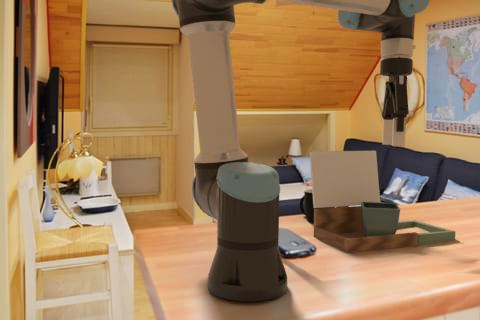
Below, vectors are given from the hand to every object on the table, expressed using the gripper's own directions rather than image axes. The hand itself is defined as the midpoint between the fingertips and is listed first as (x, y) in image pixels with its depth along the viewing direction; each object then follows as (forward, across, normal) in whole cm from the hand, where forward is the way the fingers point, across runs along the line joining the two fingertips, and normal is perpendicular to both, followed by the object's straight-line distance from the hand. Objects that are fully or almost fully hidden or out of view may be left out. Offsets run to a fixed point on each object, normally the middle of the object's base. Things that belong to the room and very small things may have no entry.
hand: (392, 145), depth 114 cm
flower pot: (+24, 0, +2) cm, 24 cm away
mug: (+24, +16, +18) cm, 34 cm away
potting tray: (+24, +5, -7) cm, 26 cm away
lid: (+16, +4, +10) cm, 19 cm away
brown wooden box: (+24, -2, +6) cm, 25 cm away
